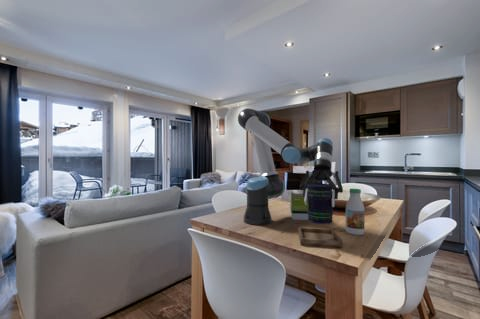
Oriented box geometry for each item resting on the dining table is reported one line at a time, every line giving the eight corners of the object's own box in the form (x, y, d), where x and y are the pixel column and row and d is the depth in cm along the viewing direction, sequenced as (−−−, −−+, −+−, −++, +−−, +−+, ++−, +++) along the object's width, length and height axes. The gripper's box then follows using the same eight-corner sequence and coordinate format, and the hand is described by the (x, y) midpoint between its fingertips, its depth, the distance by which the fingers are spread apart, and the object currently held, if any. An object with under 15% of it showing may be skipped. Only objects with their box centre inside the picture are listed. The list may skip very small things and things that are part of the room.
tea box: (289, 213, 139) (289, 189, 139) (306, 214, 138) (306, 189, 138) (291, 219, 124) (292, 193, 124) (310, 220, 123) (310, 193, 123)
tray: (300, 245, 88) (300, 238, 88) (298, 232, 103) (298, 227, 103) (341, 248, 85) (341, 241, 85) (333, 235, 100) (333, 229, 100)
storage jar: (302, 219, 95) (302, 184, 95) (317, 216, 100) (316, 182, 100) (323, 225, 87) (323, 186, 87) (337, 221, 92) (337, 184, 92)
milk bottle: (341, 231, 105) (342, 188, 105) (353, 229, 108) (353, 187, 108) (356, 236, 98) (356, 190, 98) (368, 234, 101) (368, 189, 101)
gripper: (349, 169, 102) (350, 211, 88) (299, 169, 112) (292, 206, 98) (349, 158, 98) (349, 200, 83) (297, 158, 107) (289, 196, 93)
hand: (318, 203), depth 91 cm, fingers closed on storage jar, 10 cm apart
